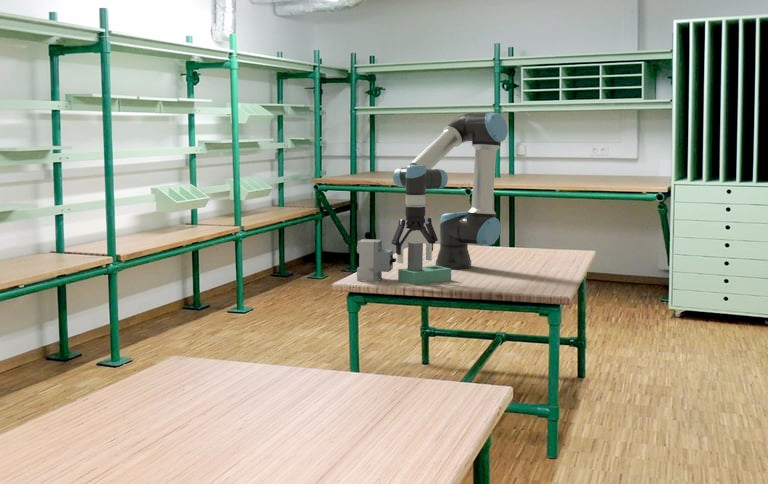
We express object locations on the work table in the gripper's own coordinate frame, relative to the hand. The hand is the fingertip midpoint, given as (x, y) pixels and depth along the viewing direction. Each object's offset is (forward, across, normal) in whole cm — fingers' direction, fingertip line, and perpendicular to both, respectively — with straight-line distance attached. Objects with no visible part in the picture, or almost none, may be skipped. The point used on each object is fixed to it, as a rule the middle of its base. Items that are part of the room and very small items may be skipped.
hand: (414, 261), depth 326 cm
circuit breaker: (+8, +9, -12) cm, 17 cm away
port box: (+8, -5, 0) cm, 9 cm away
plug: (+8, 0, 0) cm, 8 cm away
